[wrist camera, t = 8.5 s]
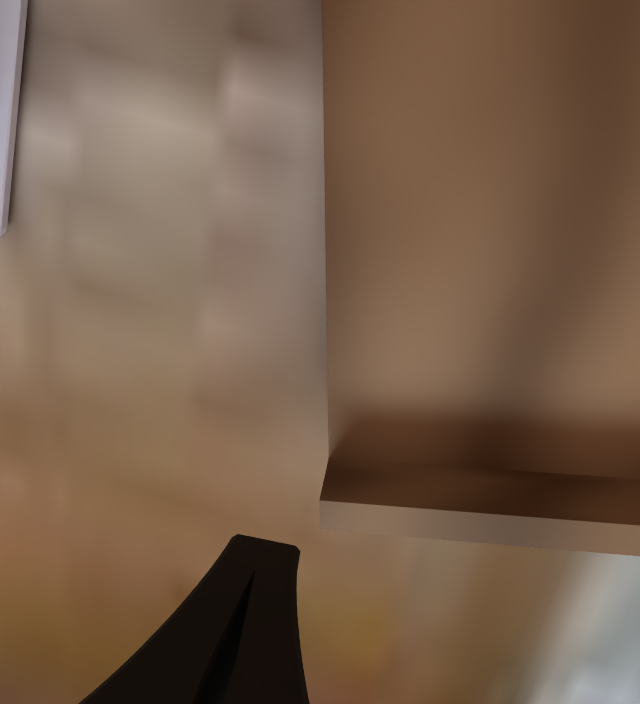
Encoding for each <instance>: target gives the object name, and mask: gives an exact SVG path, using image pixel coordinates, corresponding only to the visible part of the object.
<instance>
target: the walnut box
mask: <svg viewBox="0 0 640 704" xmlns="http://www.w3.org/2000/svg"><path fill="white" fill-rule="evenodd" d="M322 27H323V95H324V163H325V231H326V299H327V367H328V435H329V459H328V464H327V469H326V473H325V478H324V482H323V487H322V491H321V496H320V529H326V530H337V531H349V532H361V533H373V534H385V535H397V536H408V537H420V538H432V539H444V540H456V541H467V542H479V543H491V544H503V545H515V546H526V547H538V548H550V549H562V550H574V551H586V552H597V553H609V554H621V555H633V556H640V0H322Z"/></svg>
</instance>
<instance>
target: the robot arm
mask: <svg viewBox="0 0 640 704" xmlns="http://www.w3.org/2000/svg"><path fill="white" fill-rule="evenodd" d="M27 6H28V0H0V236H2V235H3V234H4V233H5V232H6V229H7V223H8V213H9V202H10V191H11V180H12V169H13V158H14V147H15V136H16V126H17V115H18V104H19V93H20V82H21V71H22V60H23V49H24V38H25V28H26V17H27ZM299 556H300V550H299V549H298V548H297V547H296V546H294V545H289V544H284V543H279V542H274V541H270V540H265V539H260V538H255V537H250V536H245V535H240V534H237V535H235V536H233V537H232V538H231V540H230V541H229V543H228V545H227V546H226V548H225V549H224V550H223V552H222V553H221V555H220V556H219V558H218V559H217V560H216V562H215V563H214V564H213V566H212V567H211V568H210V570H209V571H208V572H207V573H206V575H205V576H204V577H203V579H202V580H201V581H200V582H199V584H198V585H197V586H196V587H195V588H194V589H193V591H192V592H191V593H190V594H189V595H188V597H187V598H186V599H185V600H184V601H183V602H182V604H181V605H180V606H179V607H178V608H177V609H176V611H175V612H174V613H173V614H172V615H171V616H170V617H169V618H168V619H167V620H166V621H165V622H164V624H163V625H162V626H161V627H160V628H159V629H158V630H157V631H156V632H155V633H154V634H153V635H152V636H151V637H150V638H149V639H148V640H147V641H146V642H145V643H144V644H143V646H142V647H141V648H140V649H139V650H138V651H136V652H135V653H134V654H133V655H132V656H131V657H130V658H129V659H128V660H127V661H126V662H125V663H124V664H123V665H122V666H121V667H120V668H119V669H118V670H117V671H115V672H114V673H113V674H112V675H111V676H110V677H109V678H108V679H107V680H105V681H104V682H103V683H102V684H101V685H100V686H99V687H98V688H97V689H95V690H94V691H93V692H92V693H91V694H89V695H88V696H87V697H86V698H85V699H83V700H82V701H81V702H80V703H79V704H309V699H308V694H307V688H306V682H305V676H304V670H303V663H302V656H301V648H300V638H299V628H298V617H297V591H296V585H297V569H298V563H299Z"/></svg>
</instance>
